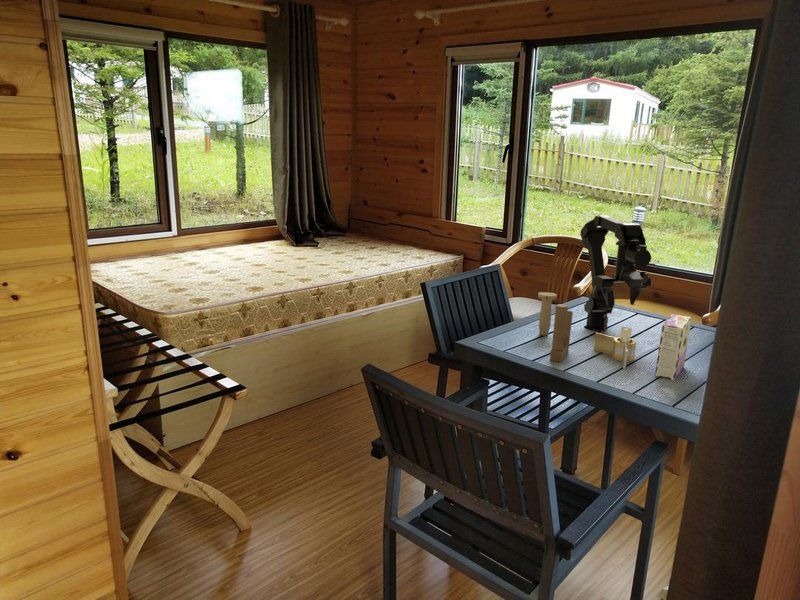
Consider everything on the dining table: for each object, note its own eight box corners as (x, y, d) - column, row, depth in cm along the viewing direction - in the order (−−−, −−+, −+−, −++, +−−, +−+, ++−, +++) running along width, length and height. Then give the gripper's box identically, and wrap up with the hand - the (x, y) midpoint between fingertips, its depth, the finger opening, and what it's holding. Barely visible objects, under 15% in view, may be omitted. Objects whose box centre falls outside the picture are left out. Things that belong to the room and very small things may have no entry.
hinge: (579, 355, 195) (581, 338, 194) (598, 347, 203) (600, 330, 202) (624, 369, 184) (627, 351, 183) (643, 360, 192) (645, 342, 191)
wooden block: (568, 352, 198) (574, 299, 193) (561, 363, 189) (566, 307, 184) (557, 350, 199) (562, 298, 195) (549, 360, 190) (554, 306, 185)
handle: (534, 331, 218) (538, 291, 214) (553, 333, 217) (557, 293, 213) (534, 335, 214) (537, 294, 210) (552, 337, 212) (556, 296, 208)
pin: (615, 357, 194) (619, 328, 191) (620, 355, 196) (624, 326, 194) (624, 360, 192) (628, 330, 189) (629, 358, 194) (633, 328, 191)
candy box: (664, 362, 191) (672, 313, 187) (684, 367, 188) (692, 316, 183) (654, 376, 180) (661, 323, 176) (675, 381, 177) (683, 327, 172)
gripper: (614, 266, 193) (608, 313, 197) (665, 265, 197) (658, 310, 201) (595, 259, 203) (590, 303, 208) (644, 258, 208) (638, 301, 212)
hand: (619, 305), depth 207 cm, fingers open, 9 cm apart
